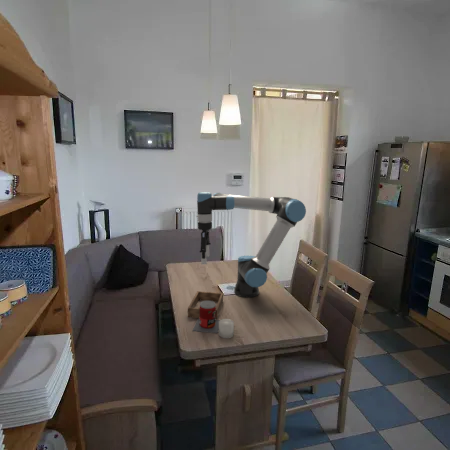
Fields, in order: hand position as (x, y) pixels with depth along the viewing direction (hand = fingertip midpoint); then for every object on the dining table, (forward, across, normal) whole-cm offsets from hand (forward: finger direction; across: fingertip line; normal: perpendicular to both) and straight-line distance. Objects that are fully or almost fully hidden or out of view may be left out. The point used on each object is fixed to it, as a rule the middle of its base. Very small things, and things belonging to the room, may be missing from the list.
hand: (205, 260), depth 172 cm
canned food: (+26, +23, +3) cm, 35 cm away
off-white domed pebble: (+26, +30, +13) cm, 42 cm away
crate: (+26, +5, +1) cm, 26 cm away
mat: (+26, +23, +3) cm, 35 cm away
